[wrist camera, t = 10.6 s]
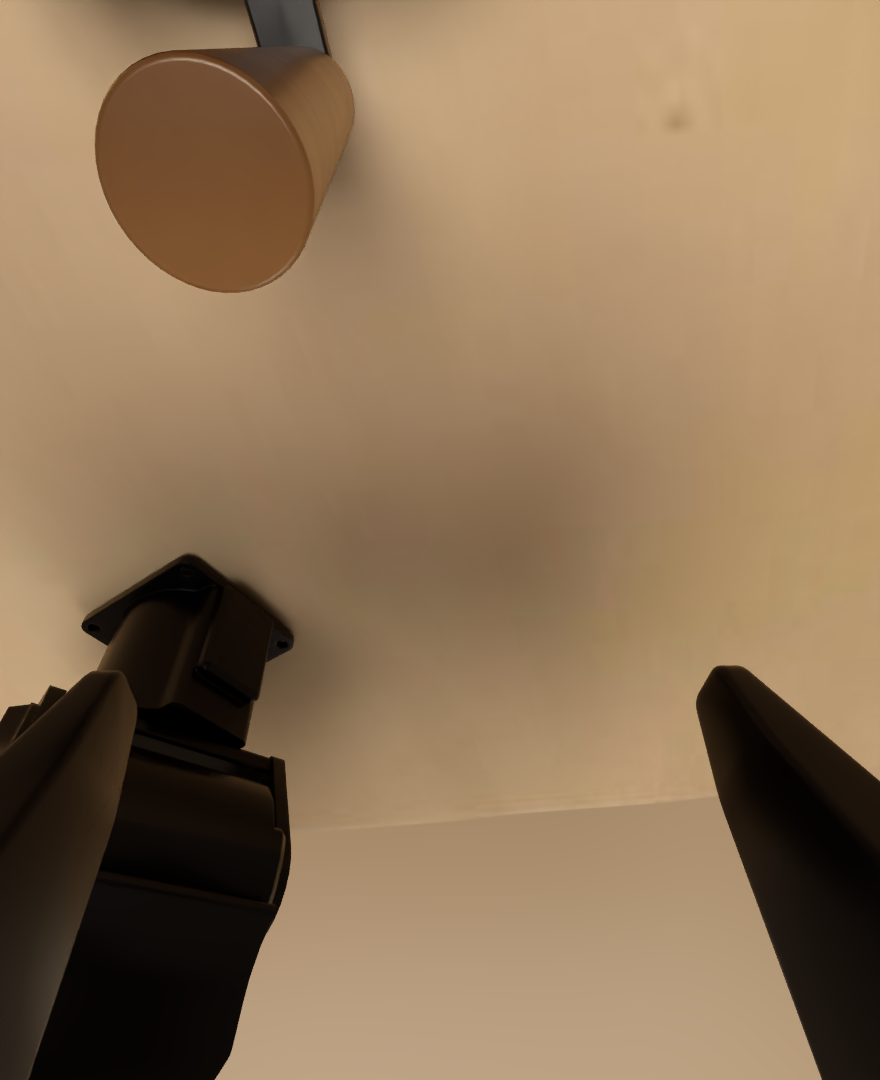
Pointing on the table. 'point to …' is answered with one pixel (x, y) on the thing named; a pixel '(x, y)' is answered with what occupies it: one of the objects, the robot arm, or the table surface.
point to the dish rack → (227, 149)
